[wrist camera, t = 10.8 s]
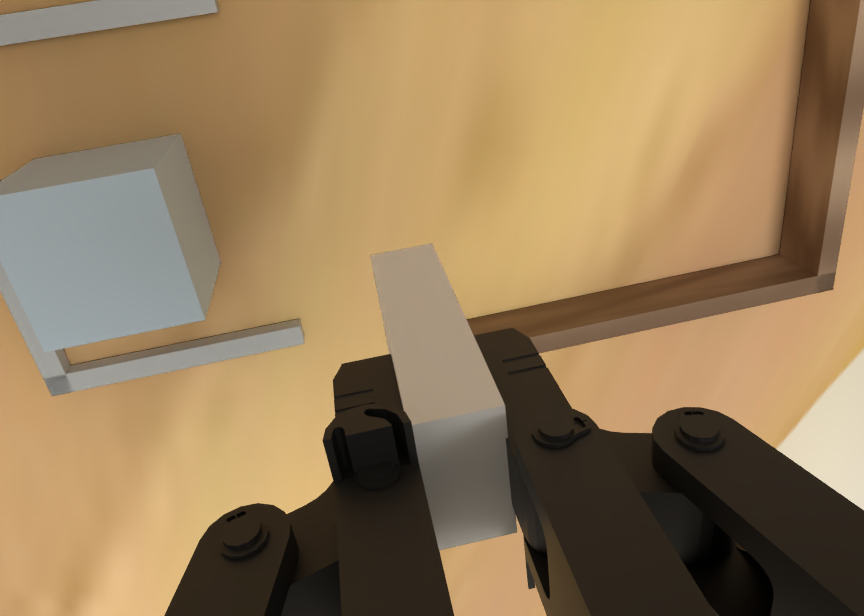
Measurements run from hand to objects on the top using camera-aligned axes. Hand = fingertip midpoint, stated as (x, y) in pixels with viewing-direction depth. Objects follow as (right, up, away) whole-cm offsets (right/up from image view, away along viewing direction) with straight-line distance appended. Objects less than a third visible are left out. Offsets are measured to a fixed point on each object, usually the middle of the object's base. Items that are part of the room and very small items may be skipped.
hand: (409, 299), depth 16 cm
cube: (-13, +4, +13) cm, 18 cm away
